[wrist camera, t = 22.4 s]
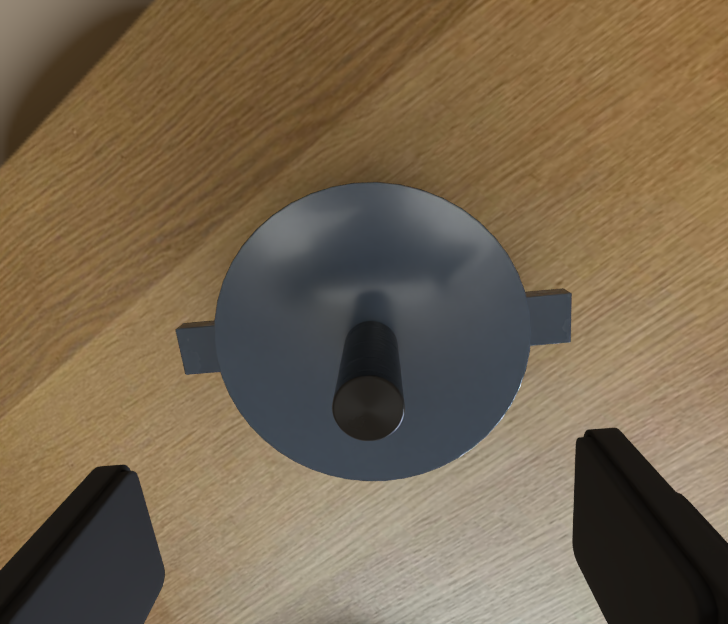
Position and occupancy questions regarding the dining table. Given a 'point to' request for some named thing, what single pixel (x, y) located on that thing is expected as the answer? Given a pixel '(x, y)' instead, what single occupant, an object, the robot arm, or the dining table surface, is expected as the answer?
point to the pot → (544, 306)
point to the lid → (372, 331)
